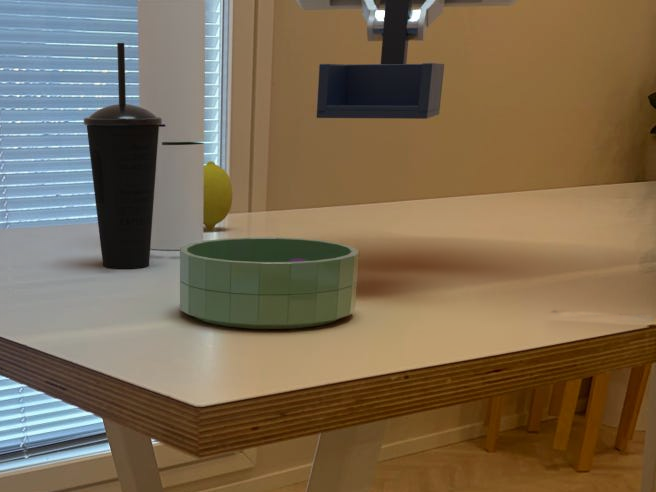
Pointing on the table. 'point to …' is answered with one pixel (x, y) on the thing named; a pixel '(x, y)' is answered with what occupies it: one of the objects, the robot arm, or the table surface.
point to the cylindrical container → (175, 114)
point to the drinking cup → (124, 176)
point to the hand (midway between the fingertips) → (395, 35)
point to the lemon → (216, 195)
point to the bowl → (268, 282)
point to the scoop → (382, 79)
